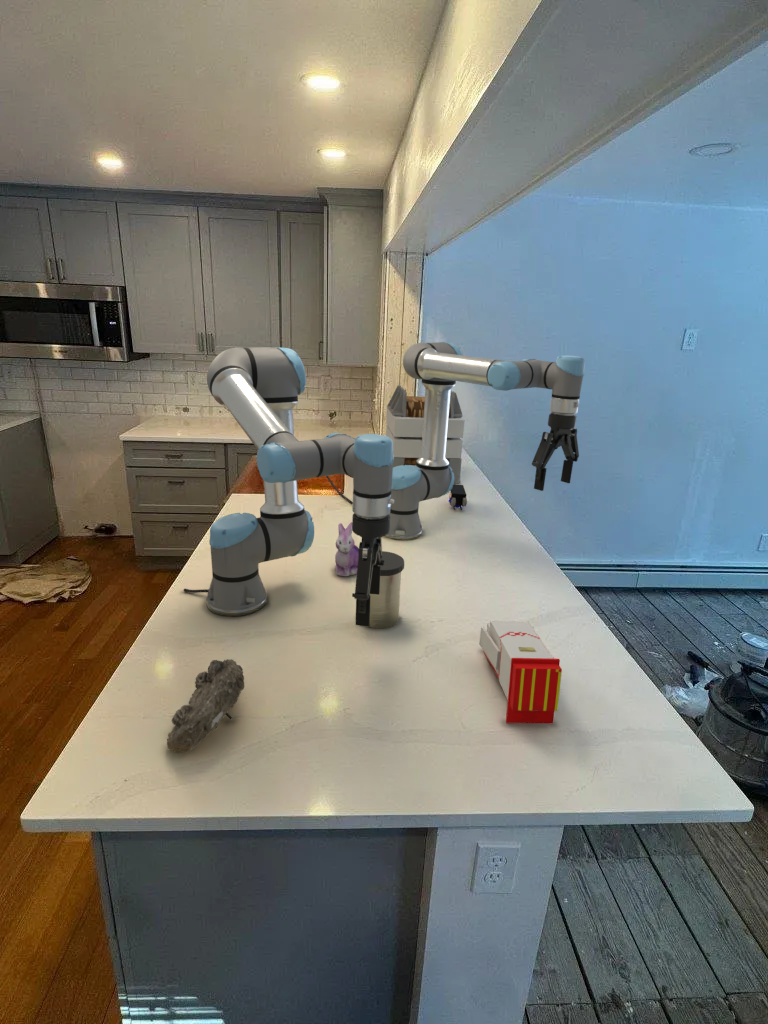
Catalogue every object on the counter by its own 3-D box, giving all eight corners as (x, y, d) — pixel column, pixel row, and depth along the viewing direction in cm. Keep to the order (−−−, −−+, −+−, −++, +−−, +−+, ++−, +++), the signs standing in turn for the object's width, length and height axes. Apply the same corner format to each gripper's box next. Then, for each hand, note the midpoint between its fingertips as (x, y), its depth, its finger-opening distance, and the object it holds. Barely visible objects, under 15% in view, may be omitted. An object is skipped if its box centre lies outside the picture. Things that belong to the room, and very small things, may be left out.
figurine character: (467, 515, 225) (461, 499, 238) (469, 498, 221) (463, 482, 235) (450, 514, 224) (445, 498, 238) (452, 497, 221) (447, 482, 234)
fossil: (192, 660, 117) (244, 628, 112) (224, 691, 120) (276, 661, 115) (142, 746, 98) (202, 712, 93) (182, 779, 101) (242, 748, 96)
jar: (378, 605, 152) (381, 550, 146) (406, 619, 145) (409, 562, 140) (351, 617, 145) (353, 560, 139) (379, 633, 138) (381, 574, 133)
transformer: (382, 463, 289) (386, 382, 275) (445, 464, 293) (451, 384, 279) (390, 482, 257) (394, 392, 243) (460, 483, 261) (468, 394, 247)
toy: (526, 605, 135) (570, 665, 105) (521, 658, 137) (563, 730, 108) (475, 604, 134) (506, 664, 105) (472, 657, 137) (500, 729, 108)
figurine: (340, 580, 164) (341, 532, 159) (327, 566, 172) (327, 519, 167) (369, 574, 168) (371, 527, 163) (355, 561, 177) (356, 515, 171)
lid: (381, 553, 147) (381, 547, 147) (413, 567, 140) (413, 561, 140) (349, 565, 140) (349, 559, 139) (381, 580, 132) (382, 574, 132)
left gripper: (381, 538, 100) (376, 642, 107) (397, 496, 123) (393, 583, 131) (339, 534, 101) (337, 637, 108) (363, 493, 124) (361, 580, 132)
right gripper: (548, 419, 148) (537, 496, 155) (598, 411, 163) (586, 482, 171) (525, 414, 153) (515, 489, 160) (575, 407, 169) (564, 476, 176)
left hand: (368, 608), depth 119 cm, fingers open, 13 cm apart
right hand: (552, 485), depth 166 cm, fingers open, 13 cm apart
